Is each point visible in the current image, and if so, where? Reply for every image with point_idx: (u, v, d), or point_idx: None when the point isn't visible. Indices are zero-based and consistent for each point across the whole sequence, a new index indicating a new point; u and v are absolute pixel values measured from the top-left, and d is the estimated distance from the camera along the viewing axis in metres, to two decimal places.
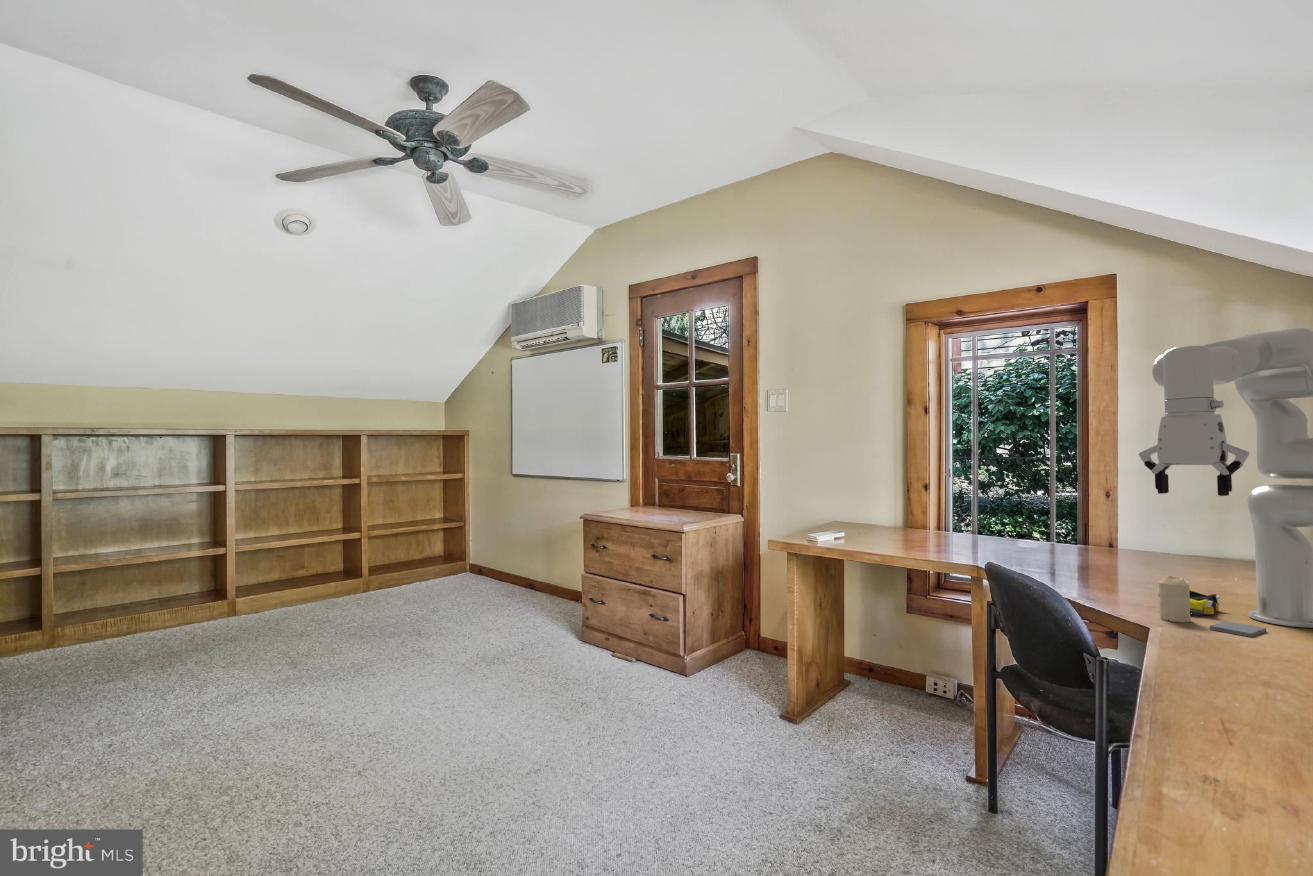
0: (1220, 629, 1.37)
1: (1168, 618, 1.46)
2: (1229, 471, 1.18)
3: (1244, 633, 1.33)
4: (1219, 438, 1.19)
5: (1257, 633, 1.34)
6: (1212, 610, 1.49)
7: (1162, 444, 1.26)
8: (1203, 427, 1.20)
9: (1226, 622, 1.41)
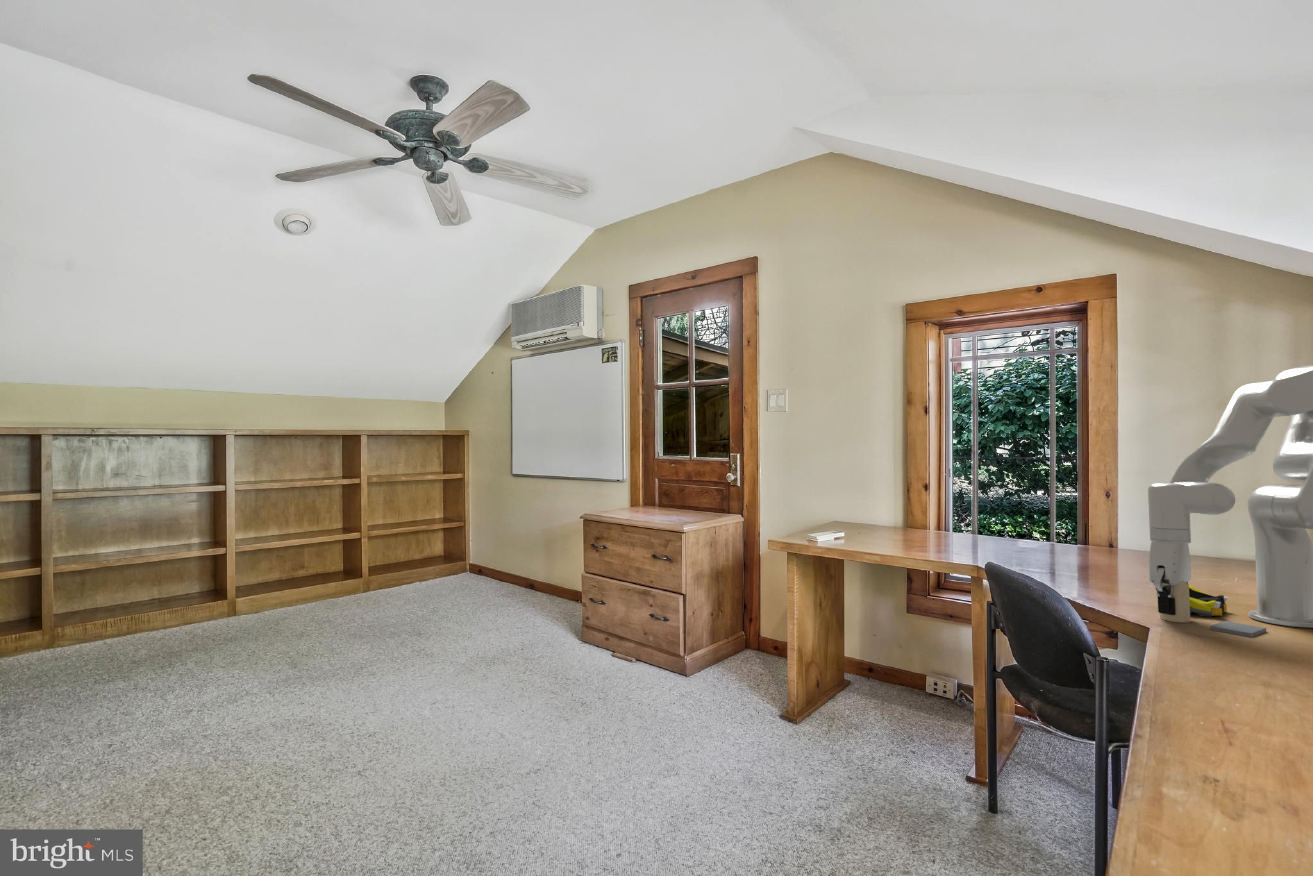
0: (1220, 629, 1.37)
1: (1167, 618, 1.45)
2: None
3: (1244, 633, 1.33)
4: None
5: (1257, 633, 1.34)
6: (1220, 611, 1.48)
7: (1175, 568, 1.43)
8: None
9: (1226, 622, 1.41)
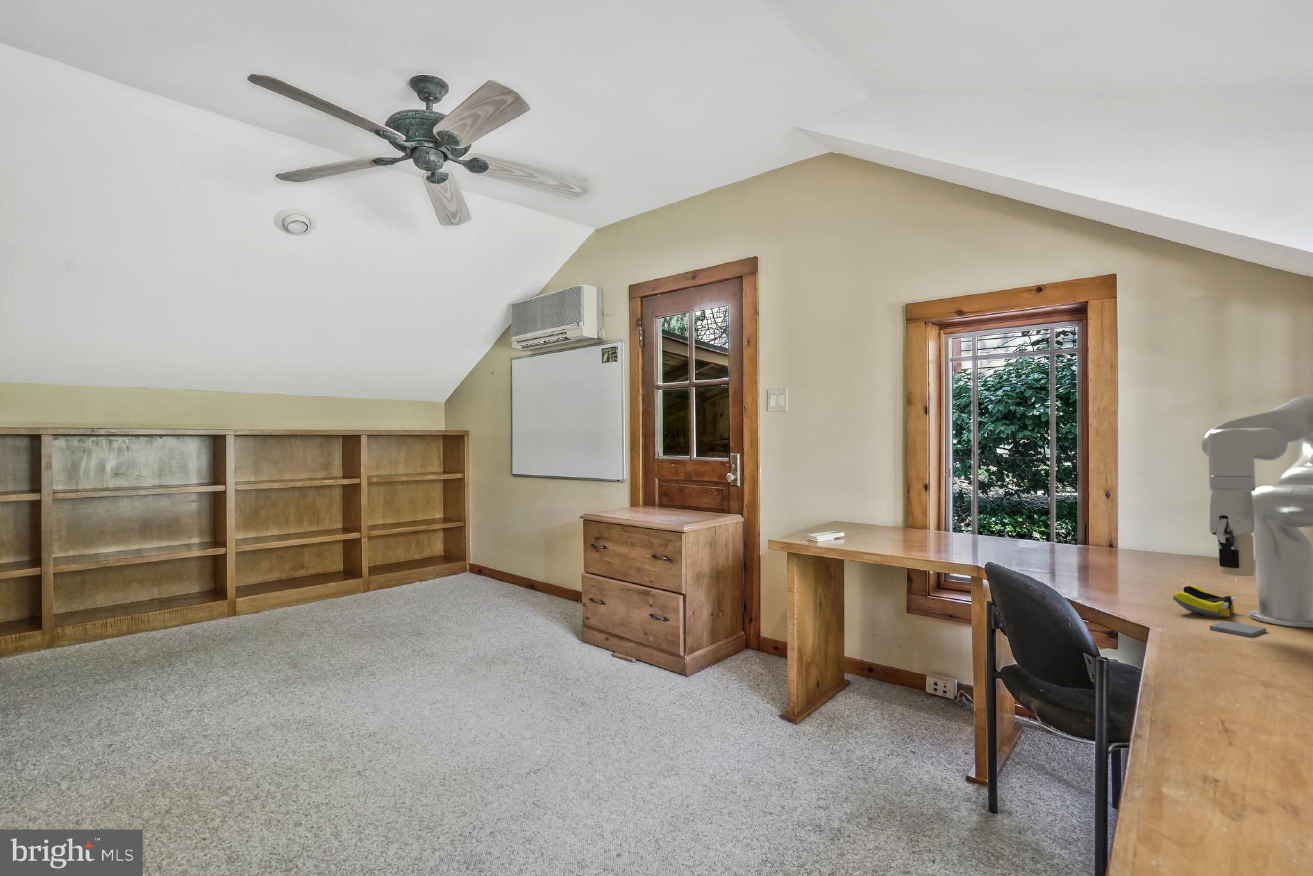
0: (1220, 629, 1.37)
1: (1230, 572, 1.36)
2: None
3: (1244, 633, 1.33)
4: None
5: (1257, 633, 1.34)
6: (1228, 612, 1.47)
7: (1239, 518, 1.34)
8: None
9: (1226, 622, 1.41)
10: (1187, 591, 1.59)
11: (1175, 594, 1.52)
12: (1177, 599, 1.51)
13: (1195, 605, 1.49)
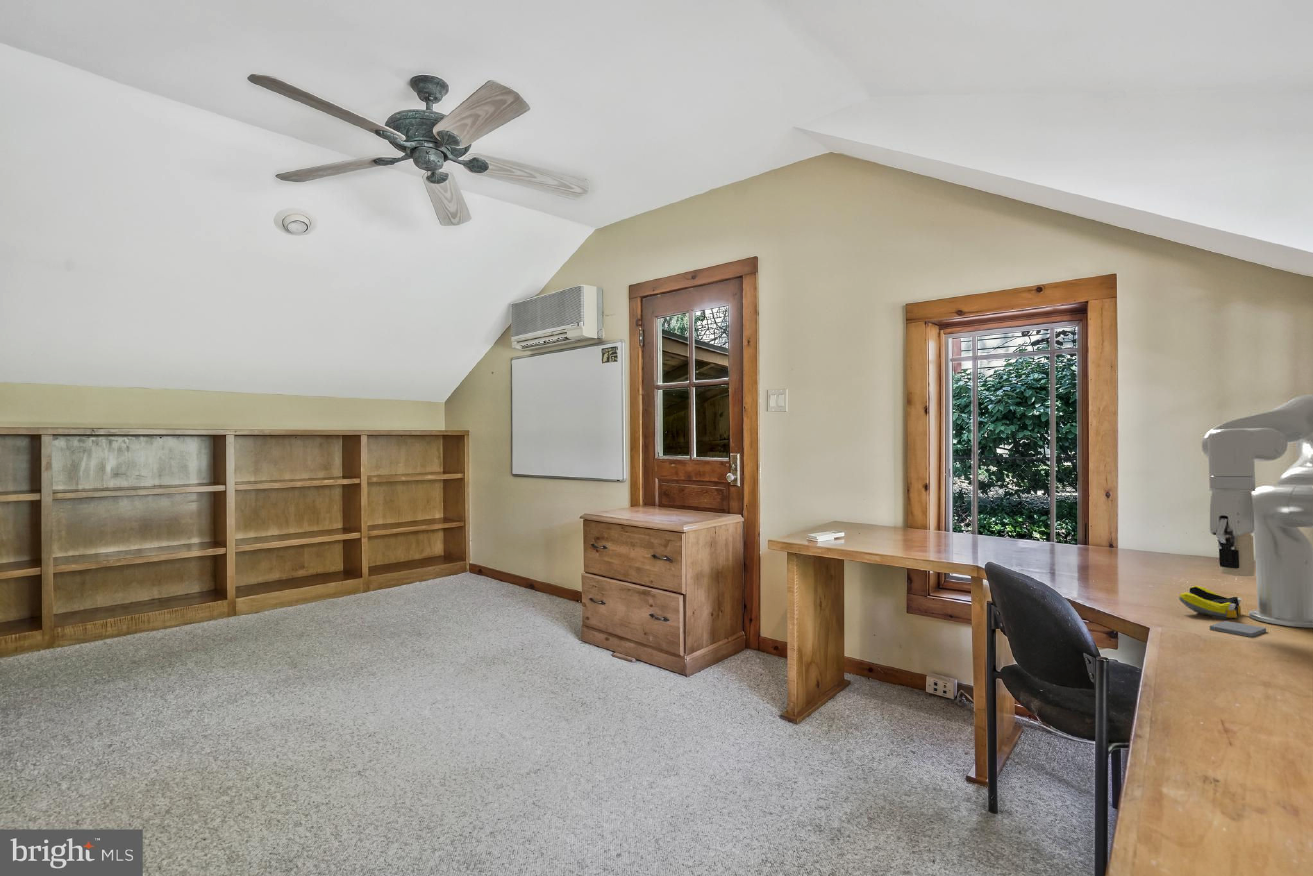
0: (1220, 629, 1.37)
1: (1230, 572, 1.36)
2: None
3: (1244, 633, 1.33)
4: None
5: (1257, 633, 1.34)
6: (1235, 613, 1.46)
7: (1239, 518, 1.34)
8: None
9: (1226, 622, 1.41)
10: (1193, 592, 1.58)
11: (1181, 595, 1.51)
12: (1183, 600, 1.51)
13: (1202, 606, 1.48)
